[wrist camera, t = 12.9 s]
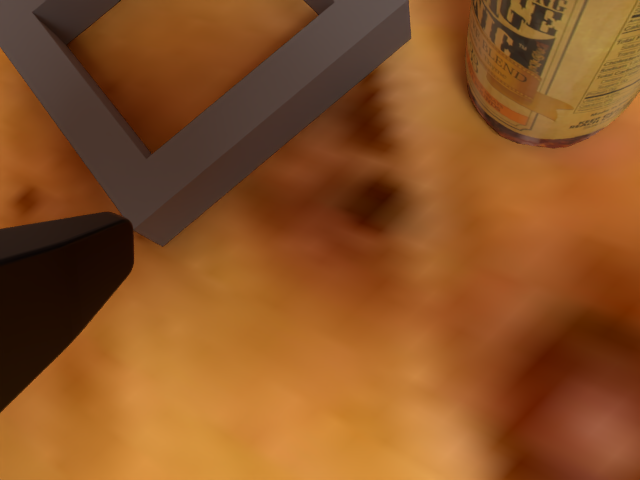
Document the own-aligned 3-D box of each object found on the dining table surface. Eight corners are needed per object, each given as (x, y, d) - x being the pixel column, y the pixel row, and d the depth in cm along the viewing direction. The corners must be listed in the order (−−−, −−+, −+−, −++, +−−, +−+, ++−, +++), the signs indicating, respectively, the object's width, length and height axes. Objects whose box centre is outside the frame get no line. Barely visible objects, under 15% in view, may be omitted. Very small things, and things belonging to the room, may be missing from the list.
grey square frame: (162, 246, 24) (132, 230, 22) (14, 46, 29) (-24, 13, 26) (411, 38, 25) (408, -1, 22) (227, -129, 29) (208, -177, 27)
